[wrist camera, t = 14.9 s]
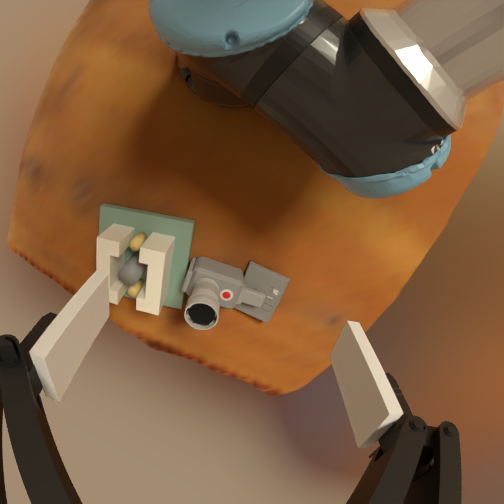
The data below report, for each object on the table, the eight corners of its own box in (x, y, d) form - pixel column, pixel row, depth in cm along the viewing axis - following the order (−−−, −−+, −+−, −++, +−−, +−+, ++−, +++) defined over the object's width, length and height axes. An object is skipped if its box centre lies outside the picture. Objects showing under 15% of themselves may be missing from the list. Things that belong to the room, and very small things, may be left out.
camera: (184, 279, 33) (302, 315, 35) (197, 241, 44) (288, 272, 46) (168, 333, 36) (274, 362, 39) (182, 288, 47) (267, 314, 49)
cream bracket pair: (167, 294, 45) (158, 315, 40) (111, 279, 44) (97, 298, 38) (175, 236, 41) (165, 253, 36) (114, 223, 40) (96, 237, 35)
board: (104, 203, 40) (82, 216, 34) (195, 220, 42) (186, 236, 36) (102, 285, 46) (86, 307, 40) (182, 304, 48) (175, 329, 41)
